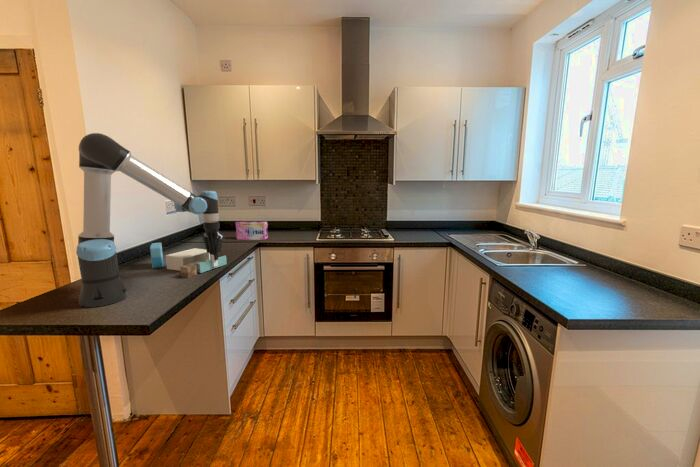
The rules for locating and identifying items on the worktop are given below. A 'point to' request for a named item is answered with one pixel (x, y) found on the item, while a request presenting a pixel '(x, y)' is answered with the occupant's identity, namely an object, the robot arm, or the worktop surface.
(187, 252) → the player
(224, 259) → the teal grey flat block
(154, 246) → the data package
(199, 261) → the disc
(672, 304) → the worktop surface
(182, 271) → the block
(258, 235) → the gum box
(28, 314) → the worktop surface
